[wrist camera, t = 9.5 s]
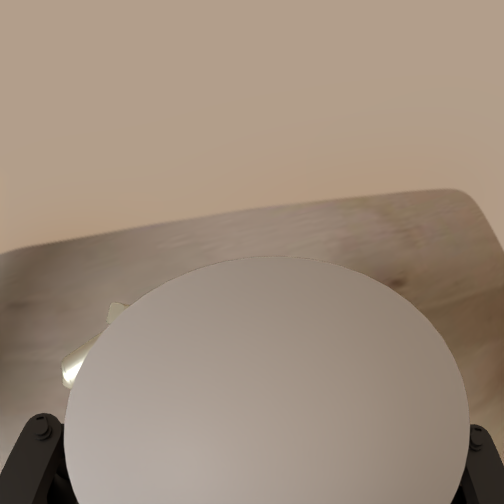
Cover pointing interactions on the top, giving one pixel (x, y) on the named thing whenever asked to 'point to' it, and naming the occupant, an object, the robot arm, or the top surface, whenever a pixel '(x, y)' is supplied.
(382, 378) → the orange pill bottle
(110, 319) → the pipe fitting
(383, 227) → the top surface
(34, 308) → the top surface
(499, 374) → the top surface
